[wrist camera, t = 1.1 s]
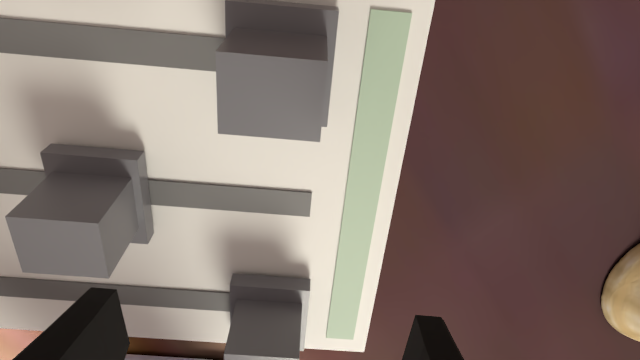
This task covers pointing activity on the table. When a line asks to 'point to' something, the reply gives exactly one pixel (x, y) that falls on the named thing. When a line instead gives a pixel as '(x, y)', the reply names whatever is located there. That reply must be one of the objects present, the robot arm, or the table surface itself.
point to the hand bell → (624, 295)
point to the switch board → (209, 161)
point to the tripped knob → (83, 211)
